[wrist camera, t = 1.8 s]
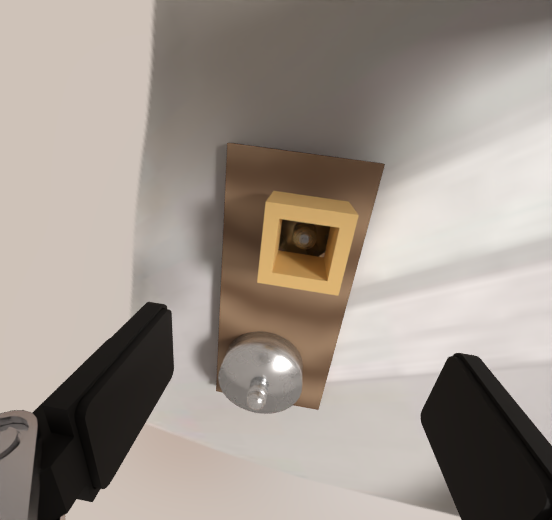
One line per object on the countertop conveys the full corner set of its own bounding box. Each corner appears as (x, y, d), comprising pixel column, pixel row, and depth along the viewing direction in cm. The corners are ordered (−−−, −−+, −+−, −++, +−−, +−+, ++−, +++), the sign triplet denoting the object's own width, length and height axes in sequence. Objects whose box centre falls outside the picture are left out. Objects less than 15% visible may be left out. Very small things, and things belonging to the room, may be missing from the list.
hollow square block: (273, 190, 21) (265, 201, 17) (348, 201, 21) (358, 215, 17) (265, 258, 24) (257, 282, 20) (333, 269, 24) (338, 295, 19)
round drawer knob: (281, 193, 23) (276, 203, 20) (338, 202, 23) (344, 213, 19) (274, 246, 25) (268, 265, 22) (326, 255, 25) (330, 275, 21)
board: (231, 143, 24) (227, 142, 22) (380, 163, 23) (384, 164, 22) (219, 381, 35) (216, 391, 34) (317, 399, 35) (318, 409, 33)
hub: (228, 325, 30) (210, 364, 24) (308, 338, 29) (309, 381, 24) (224, 384, 33) (208, 429, 28) (296, 396, 33) (294, 445, 28)
